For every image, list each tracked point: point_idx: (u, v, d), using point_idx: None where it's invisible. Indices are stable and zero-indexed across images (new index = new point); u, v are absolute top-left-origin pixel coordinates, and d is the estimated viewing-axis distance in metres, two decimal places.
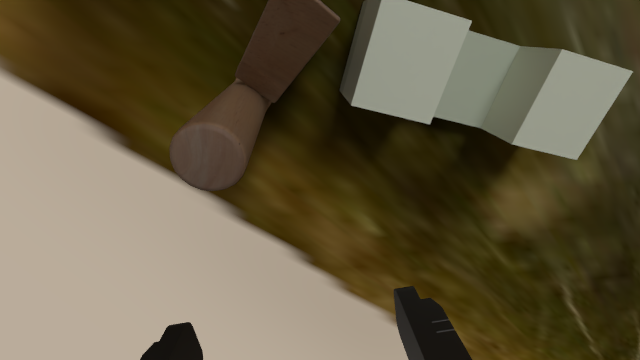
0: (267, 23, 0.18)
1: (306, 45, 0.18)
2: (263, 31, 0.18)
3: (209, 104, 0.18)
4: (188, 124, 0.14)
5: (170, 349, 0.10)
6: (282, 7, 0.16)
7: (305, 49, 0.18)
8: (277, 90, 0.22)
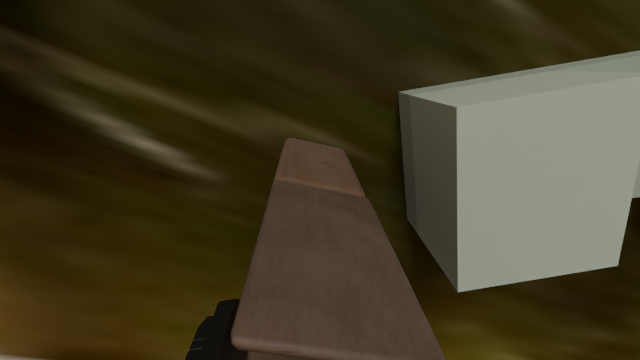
0: None
1: None
2: None
3: None
4: None
5: (226, 321, 0.11)
6: None
7: None
8: None
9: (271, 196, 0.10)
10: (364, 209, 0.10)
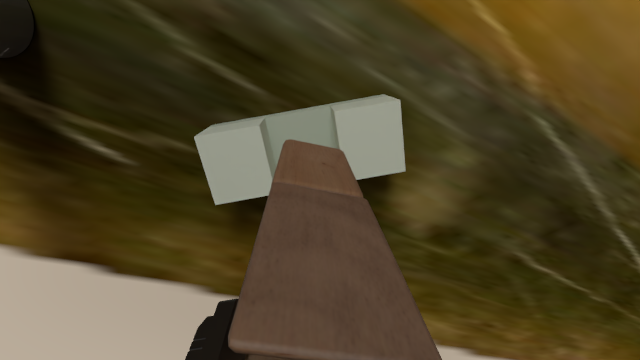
0: None
1: None
2: None
3: None
4: None
5: (226, 321, 0.11)
6: None
7: None
8: None
9: (269, 198, 0.10)
10: (362, 210, 0.10)
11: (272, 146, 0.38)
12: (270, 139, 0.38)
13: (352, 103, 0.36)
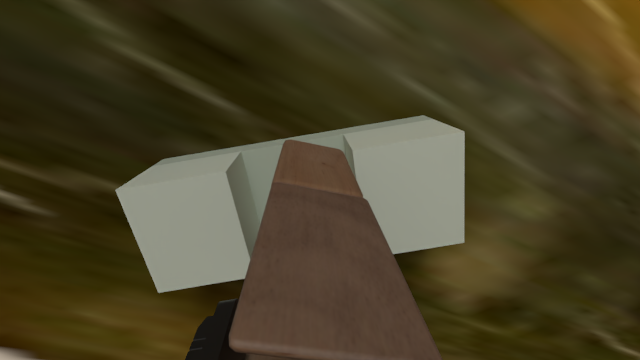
0: None
1: None
2: None
3: None
4: None
5: (226, 321, 0.11)
6: None
7: None
8: None
9: (269, 198, 0.10)
10: (362, 210, 0.10)
11: (253, 193, 0.25)
12: (250, 183, 0.25)
13: (378, 131, 0.23)
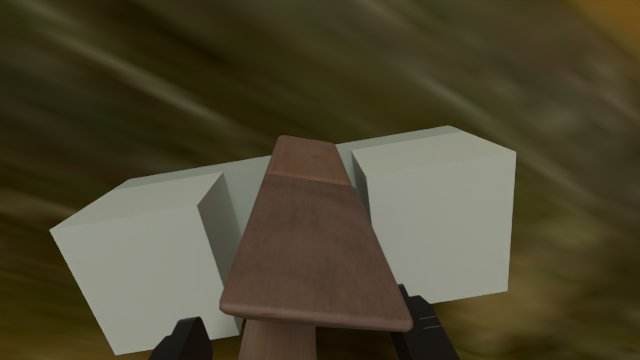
0: (251, 318, 0.08)
1: (345, 327, 0.08)
2: None
3: None
4: None
5: (182, 342, 0.11)
6: None
7: None
8: (320, 326, 0.13)
9: (261, 188, 0.10)
10: (349, 196, 0.11)
11: (239, 222, 0.20)
12: (235, 210, 0.20)
13: (397, 148, 0.18)
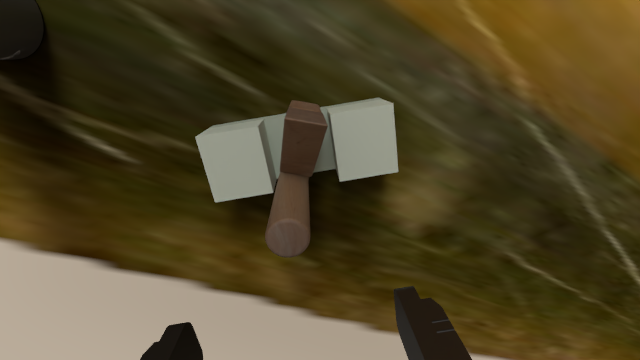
0: (287, 141, 0.28)
1: (315, 142, 0.27)
2: (287, 145, 0.28)
3: (274, 202, 0.28)
4: (270, 224, 0.24)
5: (170, 349, 0.10)
6: (292, 132, 0.26)
7: (315, 144, 0.28)
8: (309, 169, 0.32)
9: (288, 109, 0.30)
10: (319, 113, 0.30)
11: (270, 146, 0.40)
12: (268, 140, 0.39)
13: (348, 106, 0.37)
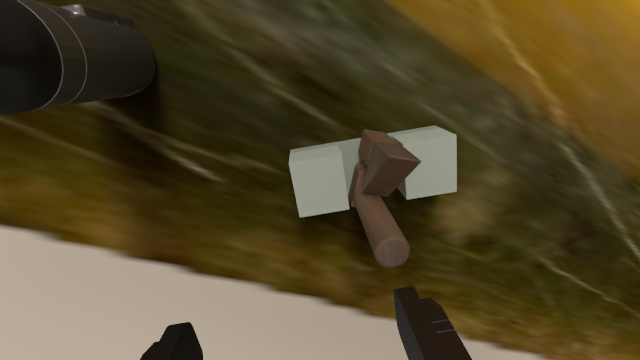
0: (381, 171, 0.34)
1: (404, 173, 0.34)
2: (379, 174, 0.34)
3: (369, 221, 0.34)
4: (380, 242, 0.30)
5: (170, 349, 0.10)
6: (389, 165, 0.32)
7: (404, 174, 0.34)
8: (389, 191, 0.38)
9: (376, 143, 0.36)
10: (401, 146, 0.36)
11: None
12: None
13: (412, 134, 0.43)
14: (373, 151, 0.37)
